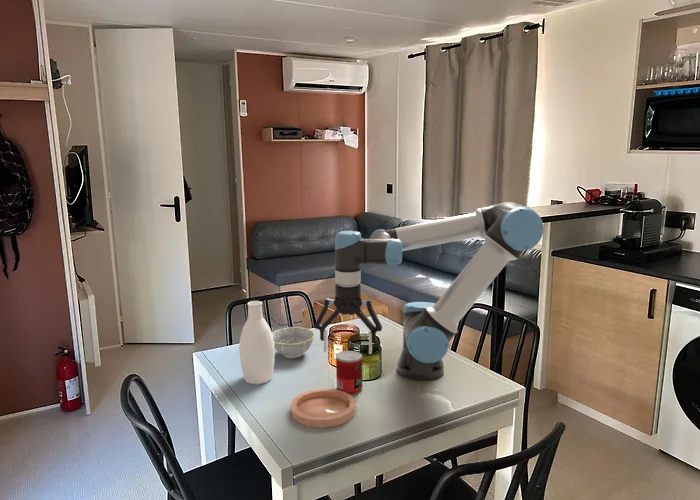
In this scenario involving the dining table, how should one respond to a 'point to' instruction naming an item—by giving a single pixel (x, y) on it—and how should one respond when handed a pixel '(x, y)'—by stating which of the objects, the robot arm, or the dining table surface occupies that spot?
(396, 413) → the dining table surface
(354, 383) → the canned food
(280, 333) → the bowl
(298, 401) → the tray
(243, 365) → the bottle
